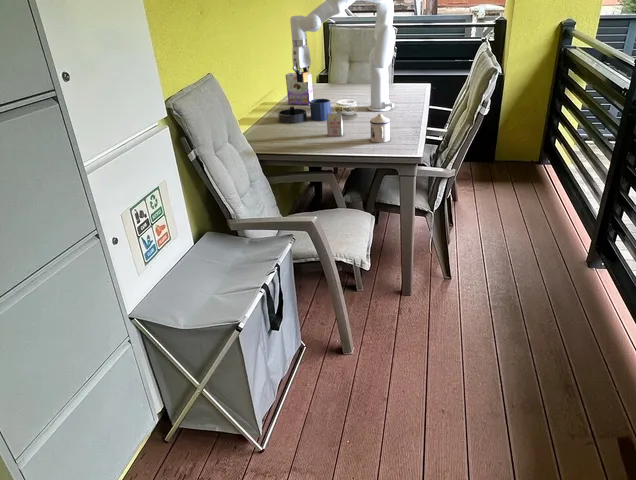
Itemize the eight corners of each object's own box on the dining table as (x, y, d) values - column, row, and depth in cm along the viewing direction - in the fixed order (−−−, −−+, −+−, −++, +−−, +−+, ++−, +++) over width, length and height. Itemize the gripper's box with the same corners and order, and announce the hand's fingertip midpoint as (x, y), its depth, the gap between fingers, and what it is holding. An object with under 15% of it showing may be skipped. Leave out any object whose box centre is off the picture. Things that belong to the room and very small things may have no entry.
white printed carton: (328, 134, 256) (327, 112, 250) (342, 134, 255) (341, 112, 250) (327, 136, 253) (326, 114, 247) (341, 136, 252) (340, 114, 247)
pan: (312, 118, 282) (311, 110, 280) (295, 124, 272) (295, 116, 270) (290, 115, 289) (289, 107, 287) (273, 121, 278) (272, 113, 276)
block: (308, 81, 282) (308, 71, 279) (303, 82, 279) (303, 73, 276) (302, 80, 284) (301, 71, 281) (297, 82, 281) (296, 72, 278)
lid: (307, 117, 282) (307, 105, 278) (295, 122, 273) (294, 110, 270) (290, 115, 287) (289, 103, 283) (277, 120, 279) (276, 108, 275)
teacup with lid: (369, 137, 249) (369, 111, 242) (388, 136, 249) (389, 111, 243) (371, 145, 239) (371, 118, 232) (391, 144, 239) (392, 117, 233)
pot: (334, 117, 282) (333, 99, 278) (323, 121, 275) (322, 104, 270) (318, 115, 287) (317, 97, 282) (307, 119, 280) (305, 102, 275)
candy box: (313, 103, 311) (311, 73, 302) (309, 105, 306) (307, 75, 298) (292, 102, 315) (289, 72, 306) (287, 104, 310) (285, 74, 302)
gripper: (295, 45, 264) (299, 84, 274) (315, 41, 276) (318, 78, 285) (283, 45, 267) (287, 83, 277) (303, 40, 279) (306, 77, 289)
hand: (302, 80), depth 281 cm, fingers closed on block, 4 cm apart
